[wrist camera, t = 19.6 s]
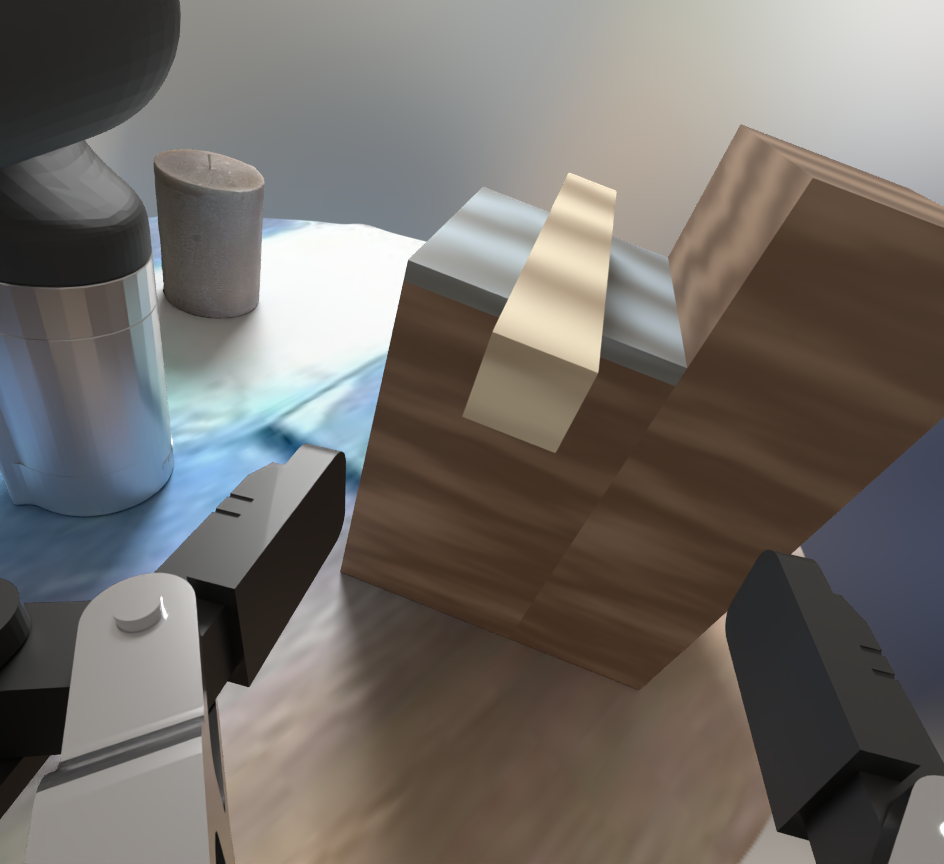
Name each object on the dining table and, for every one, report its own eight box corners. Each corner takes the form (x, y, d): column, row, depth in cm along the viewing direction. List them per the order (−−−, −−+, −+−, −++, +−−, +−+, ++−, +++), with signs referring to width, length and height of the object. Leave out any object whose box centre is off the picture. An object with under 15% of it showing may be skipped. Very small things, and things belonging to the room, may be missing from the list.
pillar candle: (142, 288, 56) (124, 137, 47) (215, 265, 64) (212, 131, 54) (212, 330, 55) (208, 182, 45) (279, 301, 62) (287, 169, 53)
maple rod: (555, 453, 16) (598, 372, 14) (462, 416, 16) (492, 331, 14) (594, 239, 33) (616, 190, 31) (550, 222, 33) (568, 172, 31)
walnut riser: (639, 690, 38) (1091, 284, 18) (340, 571, 38) (455, 41, 18) (637, 536, 49) (908, 188, 30) (408, 446, 50) (524, 41, 30)
